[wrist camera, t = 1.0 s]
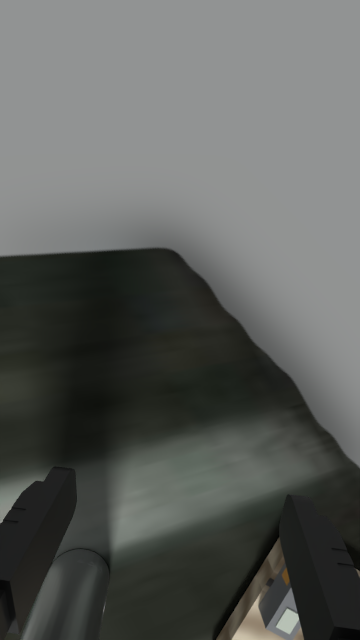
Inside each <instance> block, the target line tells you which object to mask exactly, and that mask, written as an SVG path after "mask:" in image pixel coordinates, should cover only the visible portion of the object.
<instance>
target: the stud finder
mask: <svg viewBox="0 0 360 640" xmlns="http://www.w3.org/2000/svg"><path fill="white" fill-rule="evenodd" d="M258 608H259V611H260V614H261V616H262V619H263V622H264V625H265V628H266V629H267V630H269V631H271V632H273V633H274V634H276V635H278V636H280V637H282V638H284V639H286V640H293V639H294V637H295V635H296V634H297V632H298V631H299V629H300V627H301V625H300V621H299V617H298V613H297V608H296V604H295V600H294V596H293V592H292V588H291V584H290V580H289V576H288V572H287V568H286V564H285V563H284V565H283V566H282V568H281V570H280V571H279V573H278V575H277V576H276V578H275V579H274V582H273V584H272V585H271V587H269V589H268V591H267V592H266V594H265V596H264V597H263V599H262V600H261V602H260V604H259V605H258Z"/></svg>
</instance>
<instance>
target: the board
mask: <svg viewBox="0 0 360 640" xmlns="http://www.w3.org/2000/svg"><path fill="white" fill-rule="evenodd" d="M284 563H285V560H284V556H283V552H282V548H281V543H280V537H279V538H278V540H277V542H276V543H275V545H274V546H273V548H272V550H271V551H270V553H269V554H268V556H267V558H266V559H265V561H264V563H263V564H262V566H261V567H260V569H259V571H258V572H257V574H256V576H255V577H254V579H253V580H252V582H251V584H250V585H249V587H248V588H247V590H246V592H245V593H244V595H243V597H242V598H241V600H240V601H239V603H238V605H237V606H236V608H235V610H234V611H233V613H232V614H231V616H230V618H229V619H228V621H227V622H226V624H225V626H224V627H223V629H222V631H221V632H220V634H219V635H218V637H217V639H216V640H286V639H284V638H282V637H280V636H278V635H276V634H274V633H273V632H271V631H269V630H267V629H266V628H265V625H264V622H263V619H262V616H261V614H260V611H259V608H258V605H259V604H260V602H261V600H262V599H263V597H264V596H265V594H266V592H267V591H268V589H269V587H271V585H272V584H273V582H274V579H275V578H276V576H277V575H278V573H279V571H280V570H281V568H282V566H283V565H284ZM356 570H357V569H356ZM357 573H358V575H359V577H360V571H359V570H357ZM293 640H304V637H303V633H302V629H301V627H300V629H299V631H298V632H297V634H296V635H295V637H294V639H293Z"/></svg>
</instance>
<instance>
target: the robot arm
mask: <svg viewBox="0 0 360 640" xmlns="http://www.w3.org/2000/svg"><path fill="white" fill-rule="evenodd" d="M76 502H77V493H76V475H75V470H74V469H70V468H62V467H53V468H52V469H51V471H50V472H49V474H48V476H47V477H46V479H45V480H44V482H42V481H35V482H34V483H33V484H31V485H30V486H29V487H28V488H27V489H25V490H24V491H23V492H22V493H21V495H20V496H19V498H18V499H17V500H16V502H15V503H14V505H13V506H12V509H11V510H10V511H9V512H8V514H7V515H6V516H5V518H4V519H3V522H2V523H1V524H0V640H4V638H5V636H6V634H7V632H9V633H15V634H20V632H21V630H22V627H23V625H24V623H25V621H26V618H27V616H28V614H29V612H30V610H31V607H32V605H33V603H34V601H35V599H36V596H37V594H38V592H39V590H40V588H41V585H42V583H43V581H44V579H45V581H44V583H43V586H42V588H41V590H40V593H39V595H38V597H37V600H36V602H35V605H34V607H33V609H32V612H31V614H30V617H29V619H28V621H27V624H26V626H25V629H24V631H23V633H22V636H21V638H20V640H99V636H100V630H101V625H102V619H103V613H104V608H105V602H106V597H107V591H108V585H109V579H110V576H109V569H108V566H107V564H106V563H105V561H104V560H103V559H102V558H101V556H99V555H98V554H96V553H95V552H92V551H90V550H85V549H75V550H71V551H68V552H66V553H64V554H62V555H61V556H59V557H58V558H57V559H56V560H55V561H54V562H53V564H52V565H51V563H52V561H53V559H54V557H55V554H56V552H57V550H58V548H59V546H60V543H61V541H62V539H63V537H64V535H65V532H66V530H67V528H68V526H69V524H70V521H71V519H72V517H73V514H74V511H75V507H76ZM279 537H280V543H281V548H282V552H283V556H284V560H285V564H286V568H287V572H288V576H289V580H290V584H291V588H292V592H293V596H294V600H295V604H296V608H297V613H298V617H299V621H300V625H301V629H302V633H303V637H304V640H360V577H359V575H358V573H357V570H356V569H355V568H354V564H353V562H352V559H351V557H350V555H349V554H348V552H347V548H346V546H345V544H344V542H343V539H342V537H341V535H340V533H339V531H338V530H337V529H336V527H335V526H334V525H333V524H332V523H331V521H330V520H329V519H328V518H327V516H320V515H318V514H317V512H316V509H315V507H314V504H313V502H312V500H311V498H310V497H305V496H297V495H289V494H288V495H287V496H286V500H285V504H284V508H283V512H282V516H281V519H280V524H279ZM50 565H51V567H50ZM49 568H50V569H49ZM48 570H49V571H48ZM47 572H48V574H47ZM46 574H47V576H46ZM45 577H46V578H45Z"/></svg>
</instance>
